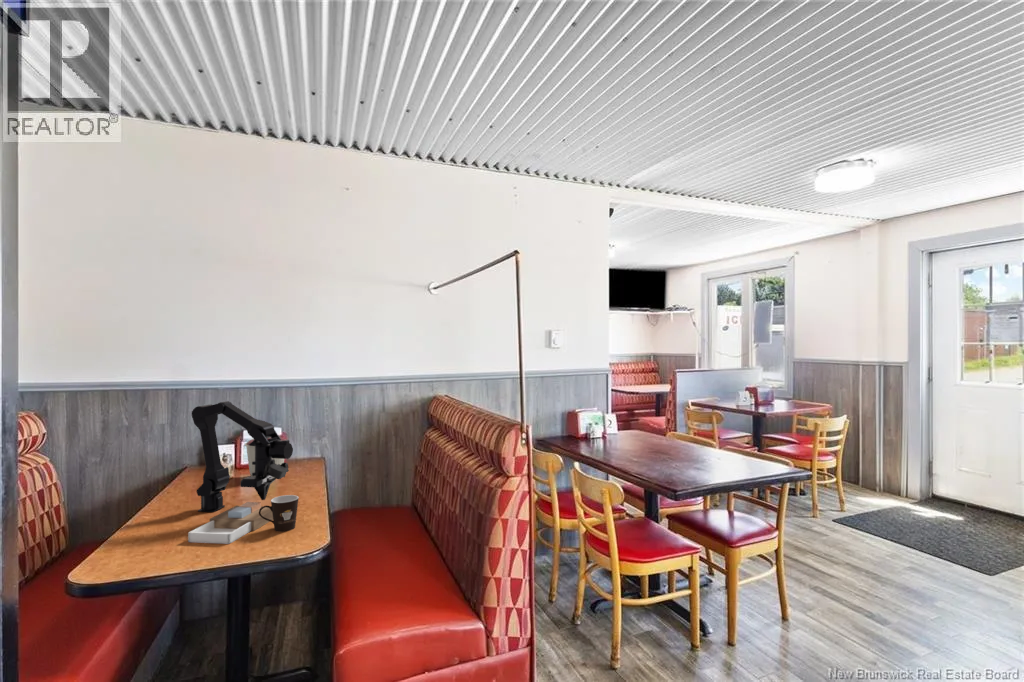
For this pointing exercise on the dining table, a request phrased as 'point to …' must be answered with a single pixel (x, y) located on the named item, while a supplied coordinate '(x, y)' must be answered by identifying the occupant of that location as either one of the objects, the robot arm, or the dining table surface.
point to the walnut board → (242, 519)
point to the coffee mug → (283, 512)
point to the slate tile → (239, 512)
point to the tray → (217, 534)
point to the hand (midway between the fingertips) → (263, 499)
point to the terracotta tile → (252, 505)
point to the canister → (252, 457)
